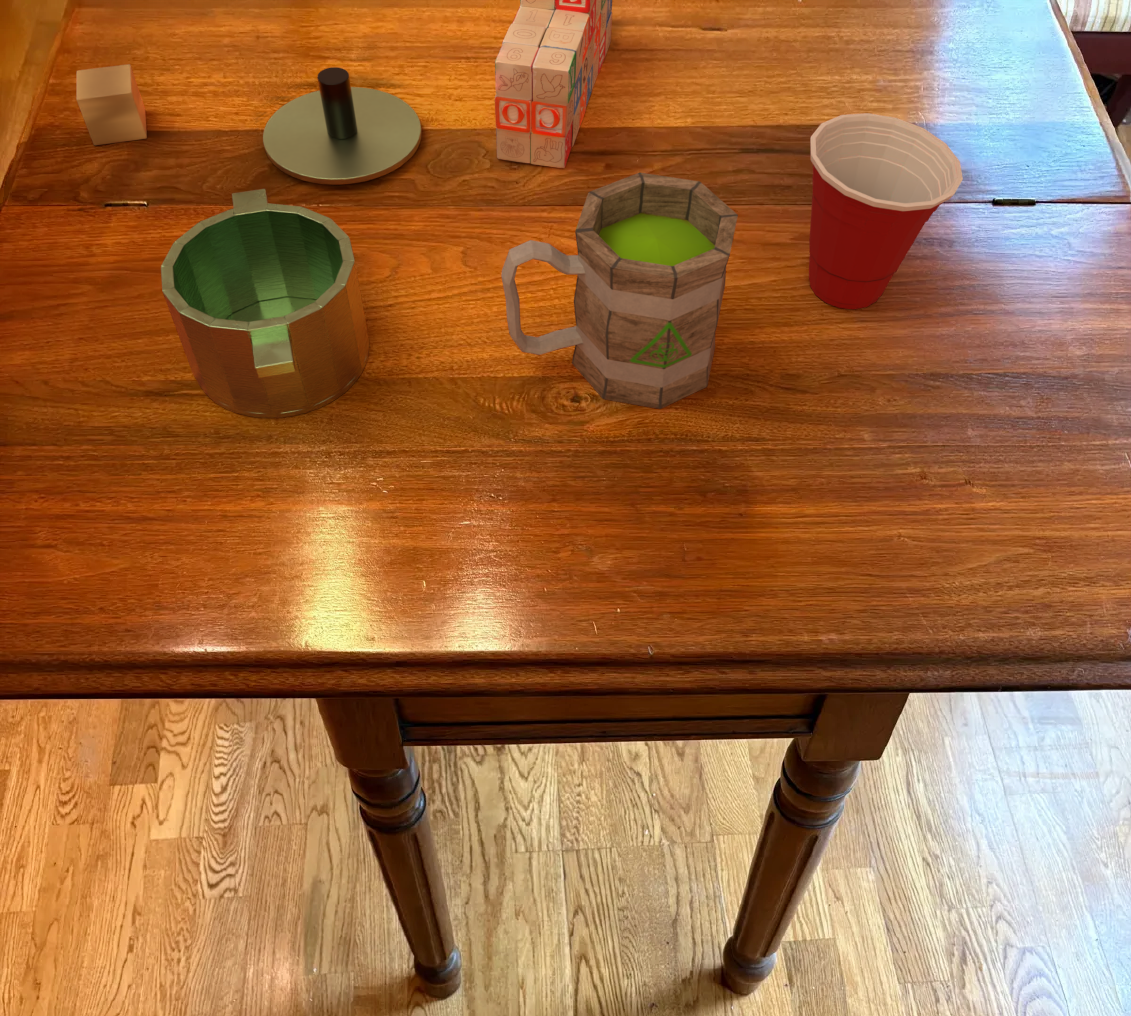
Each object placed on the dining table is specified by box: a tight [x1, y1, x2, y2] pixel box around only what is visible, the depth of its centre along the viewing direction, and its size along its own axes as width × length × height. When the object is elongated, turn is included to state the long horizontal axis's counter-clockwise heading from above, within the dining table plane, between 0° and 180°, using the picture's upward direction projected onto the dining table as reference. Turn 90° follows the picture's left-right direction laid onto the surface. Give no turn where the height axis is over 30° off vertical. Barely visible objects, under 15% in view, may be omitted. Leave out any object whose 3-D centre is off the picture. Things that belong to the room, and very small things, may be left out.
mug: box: [501, 172, 739, 410], centre depth 74 cm, size 16×11×12 cm
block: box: [75, 63, 148, 146], centre depth 93 cm, size 4×4×4 cm
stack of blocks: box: [494, 0, 613, 169], centre depth 94 cm, size 21×6×12 cm, turn 168°
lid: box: [262, 66, 423, 186], centre depth 92 cm, size 14×14×6 cm
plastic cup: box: [808, 112, 964, 310], centre depth 80 cm, size 11×11×12 cm
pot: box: [160, 188, 371, 419], centre depth 75 cm, size 13×18×8 cm
